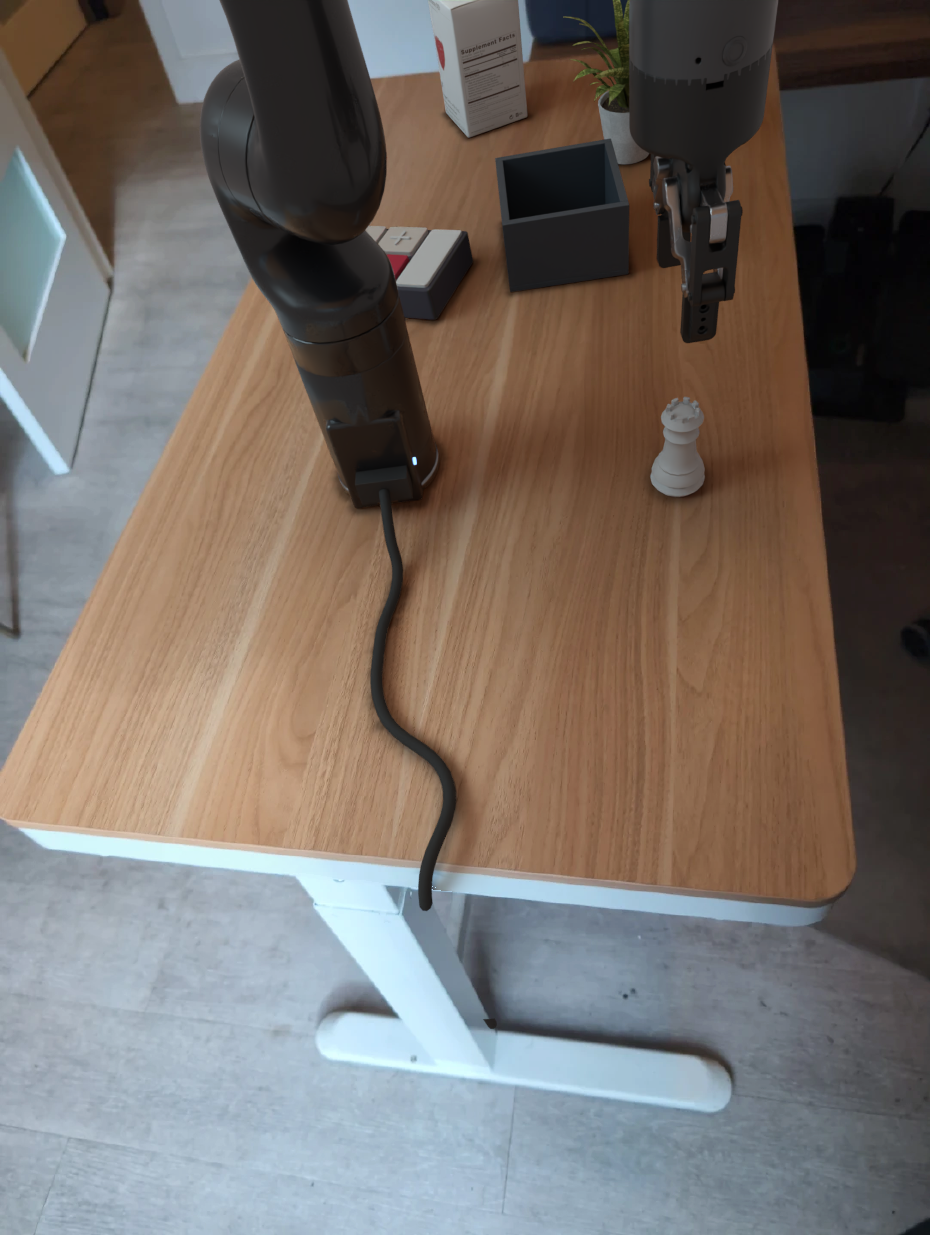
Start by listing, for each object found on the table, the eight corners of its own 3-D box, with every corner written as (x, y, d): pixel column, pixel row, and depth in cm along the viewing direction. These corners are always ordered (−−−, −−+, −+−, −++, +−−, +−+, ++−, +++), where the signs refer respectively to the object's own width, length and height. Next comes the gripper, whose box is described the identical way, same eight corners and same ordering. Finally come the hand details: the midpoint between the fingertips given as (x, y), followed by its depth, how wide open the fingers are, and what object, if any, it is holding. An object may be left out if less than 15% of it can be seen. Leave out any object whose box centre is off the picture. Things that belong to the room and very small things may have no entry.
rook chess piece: (712, 470, 71) (722, 397, 64) (691, 506, 69) (698, 434, 62) (663, 455, 72) (668, 382, 66) (641, 490, 70) (643, 418, 64)
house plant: (548, 140, 107) (538, -10, 93) (651, 110, 107) (656, -43, 94) (585, 192, 98) (580, 36, 85) (697, 160, 99) (709, -1, 85)
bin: (628, 274, 88) (629, 204, 82) (510, 292, 89) (502, 225, 83) (611, 206, 96) (610, 137, 90) (502, 223, 97) (495, 157, 91)
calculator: (348, 220, 95) (467, 223, 90) (359, 255, 99) (474, 260, 93) (303, 277, 90) (427, 284, 85) (317, 312, 94) (436, 320, 88)
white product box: (443, 113, 115) (423, -15, 103) (503, 93, 116) (490, -37, 104) (467, 139, 110) (448, 8, 98) (529, 118, 111) (518, -15, 99)
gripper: (610, 0, 49) (614, 251, 62) (654, 116, 41) (648, 376, 54) (739, -27, 48) (716, 232, 62) (810, 85, 40) (766, 356, 53)
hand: (684, 299), depth 58 cm, fingers open, 8 cm apart
